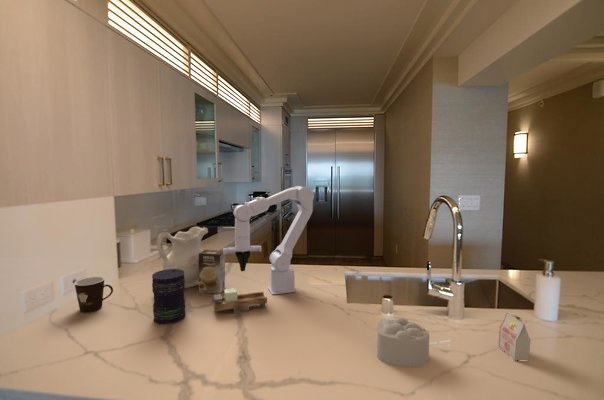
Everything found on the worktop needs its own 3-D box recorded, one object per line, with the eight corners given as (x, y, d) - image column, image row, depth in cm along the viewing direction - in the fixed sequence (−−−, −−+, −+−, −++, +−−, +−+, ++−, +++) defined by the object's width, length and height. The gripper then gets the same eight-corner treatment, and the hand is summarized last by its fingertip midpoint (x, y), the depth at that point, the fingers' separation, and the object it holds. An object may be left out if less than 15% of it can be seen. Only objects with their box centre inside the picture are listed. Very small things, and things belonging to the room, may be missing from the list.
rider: (235, 298, 111) (235, 288, 111) (237, 302, 108) (237, 291, 107) (224, 299, 110) (224, 289, 109) (225, 303, 106) (225, 293, 106)
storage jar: (174, 326, 97) (172, 279, 96) (146, 323, 99) (144, 277, 98) (191, 312, 107) (190, 270, 105) (165, 309, 109) (164, 267, 107)
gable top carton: (511, 347, 88) (514, 312, 87) (528, 361, 81) (531, 324, 80) (498, 346, 88) (500, 312, 87) (514, 361, 81) (517, 324, 80)
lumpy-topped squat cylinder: (377, 341, 90) (378, 312, 89) (425, 348, 87) (426, 318, 86) (377, 363, 80) (378, 330, 79) (431, 371, 77) (433, 337, 76)
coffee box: (198, 292, 124) (197, 253, 123) (204, 287, 130) (204, 249, 129) (220, 294, 123) (219, 254, 122) (225, 288, 129) (225, 250, 128)
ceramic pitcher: (177, 299, 120) (179, 236, 117) (146, 285, 130) (147, 227, 127) (218, 283, 138) (221, 228, 135) (189, 272, 148) (191, 220, 145)
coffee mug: (70, 310, 107) (69, 282, 106) (97, 301, 115) (95, 275, 114) (89, 318, 102) (88, 288, 101) (116, 308, 109) (114, 280, 108)
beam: (263, 301, 116) (263, 287, 116) (267, 308, 110) (267, 293, 110) (213, 308, 110) (212, 294, 109) (214, 316, 104) (214, 300, 104)
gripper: (224, 239, 114) (224, 275, 115) (263, 237, 119) (263, 271, 120) (222, 235, 121) (222, 269, 122) (259, 233, 126) (259, 266, 127)
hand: (242, 270), depth 121 cm, fingers closed
